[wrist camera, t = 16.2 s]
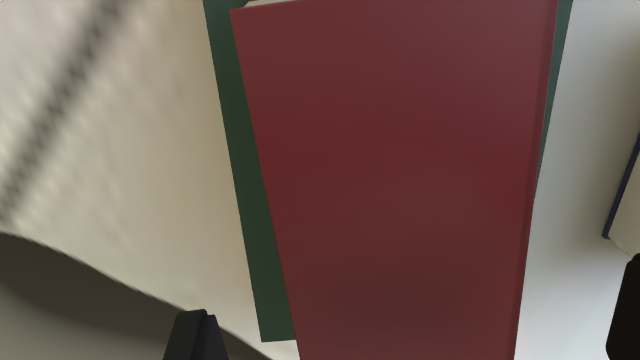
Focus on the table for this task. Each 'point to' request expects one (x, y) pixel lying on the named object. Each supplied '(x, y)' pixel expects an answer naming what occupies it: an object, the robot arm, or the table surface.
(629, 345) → the robot arm
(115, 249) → the table surface
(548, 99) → the green book
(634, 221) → the navy book
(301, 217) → the burgundy book
